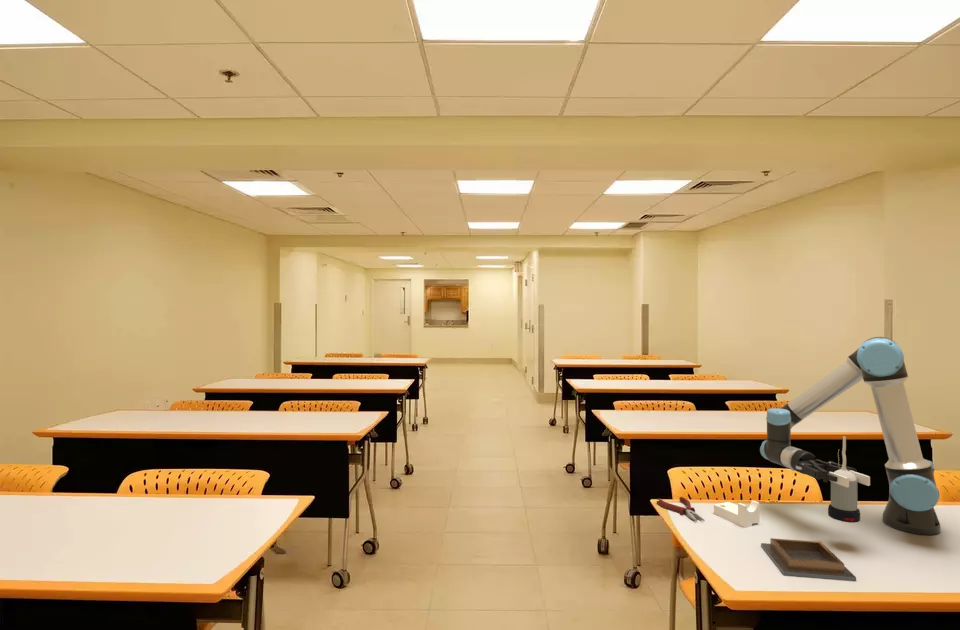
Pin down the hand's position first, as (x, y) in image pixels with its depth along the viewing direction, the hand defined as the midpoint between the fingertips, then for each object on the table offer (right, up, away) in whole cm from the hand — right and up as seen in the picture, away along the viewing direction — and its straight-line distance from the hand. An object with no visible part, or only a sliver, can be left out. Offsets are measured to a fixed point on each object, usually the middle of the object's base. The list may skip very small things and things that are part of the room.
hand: (858, 482), depth 158 cm
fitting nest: (-19, -22, -5) cm, 29 cm away
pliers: (-41, -22, +34) cm, 58 cm away
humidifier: (-1, -13, +5) cm, 14 cm away
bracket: (-23, -22, +27) cm, 42 cm away
